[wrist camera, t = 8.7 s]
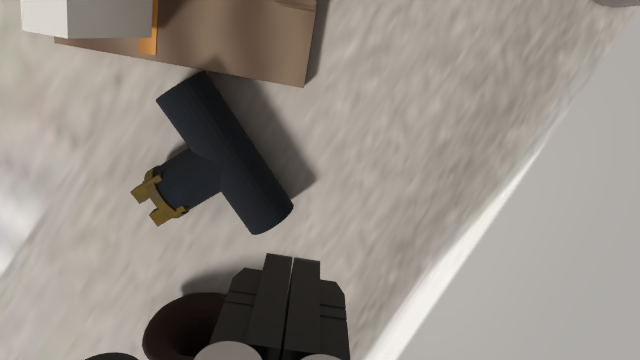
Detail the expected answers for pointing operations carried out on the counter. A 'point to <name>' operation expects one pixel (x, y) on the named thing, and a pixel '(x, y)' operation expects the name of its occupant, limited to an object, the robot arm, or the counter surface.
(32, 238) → the counter surface
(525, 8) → the counter surface
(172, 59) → the pipe stand
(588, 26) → the counter surface
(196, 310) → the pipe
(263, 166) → the pipe connector
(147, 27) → the white flat block
